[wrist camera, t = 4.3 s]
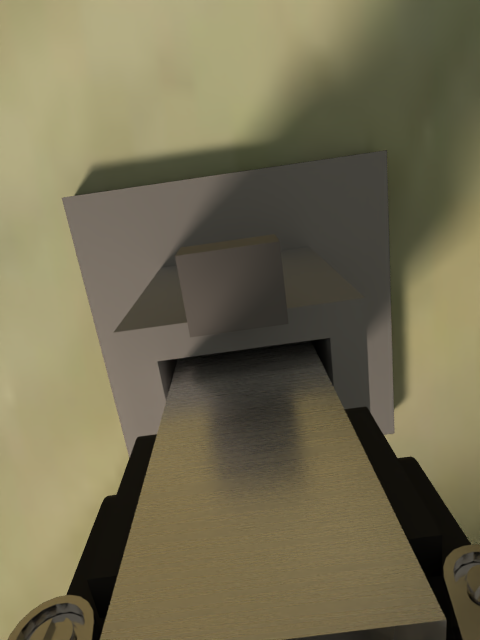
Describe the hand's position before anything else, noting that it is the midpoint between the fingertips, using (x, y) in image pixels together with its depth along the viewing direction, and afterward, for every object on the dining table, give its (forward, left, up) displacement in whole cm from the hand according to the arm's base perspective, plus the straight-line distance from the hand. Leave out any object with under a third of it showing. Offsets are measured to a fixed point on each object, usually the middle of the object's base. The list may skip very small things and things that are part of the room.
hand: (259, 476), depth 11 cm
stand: (0, 0, -12) cm, 12 cm away
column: (0, 0, -11) cm, 11 cm away
